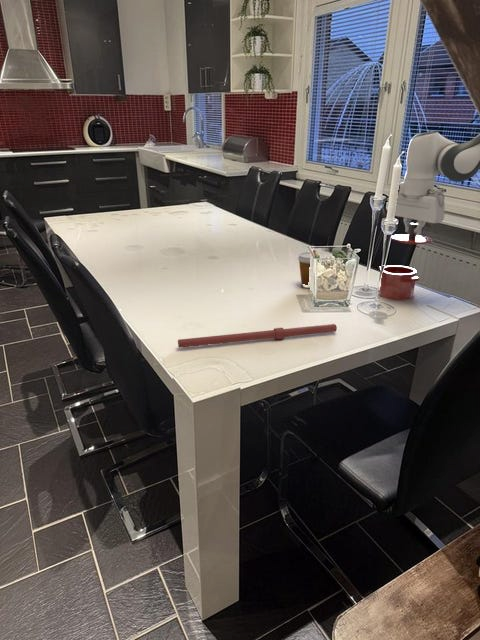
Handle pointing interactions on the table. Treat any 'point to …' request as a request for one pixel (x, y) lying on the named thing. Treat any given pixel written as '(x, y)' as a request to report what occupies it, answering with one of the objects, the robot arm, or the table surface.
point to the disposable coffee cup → (304, 267)
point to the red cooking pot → (398, 282)
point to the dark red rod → (257, 335)
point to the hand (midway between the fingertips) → (412, 233)
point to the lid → (412, 237)
